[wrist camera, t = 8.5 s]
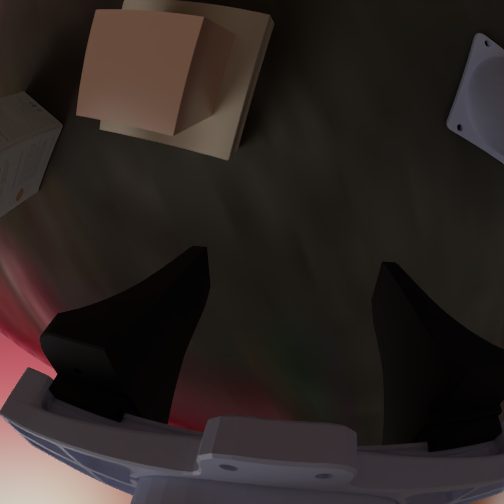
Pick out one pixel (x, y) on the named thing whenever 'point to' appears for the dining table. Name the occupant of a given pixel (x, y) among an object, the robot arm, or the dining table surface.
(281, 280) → the dining table surface
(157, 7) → the maple base block
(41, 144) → the small box
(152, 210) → the dining table surface
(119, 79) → the terracotta block
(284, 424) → the robot arm
